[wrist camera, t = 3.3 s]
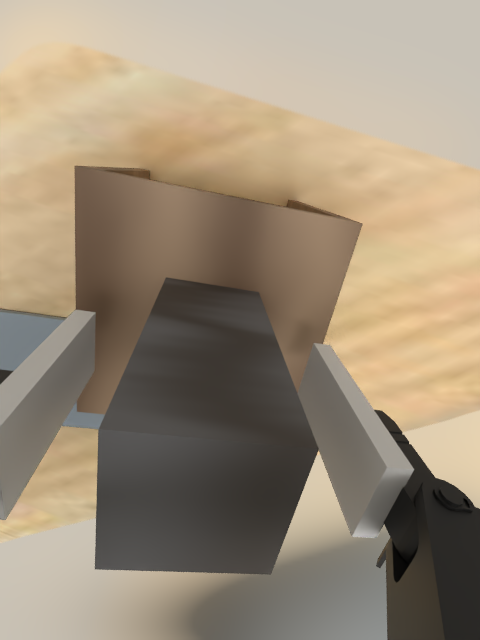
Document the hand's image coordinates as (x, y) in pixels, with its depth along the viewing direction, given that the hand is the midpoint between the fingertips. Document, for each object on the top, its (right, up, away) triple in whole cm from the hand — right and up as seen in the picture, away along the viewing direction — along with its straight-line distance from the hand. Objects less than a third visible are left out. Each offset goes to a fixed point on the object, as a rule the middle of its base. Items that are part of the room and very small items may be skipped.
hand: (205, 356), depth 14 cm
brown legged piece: (-1, +6, +14) cm, 15 cm away
